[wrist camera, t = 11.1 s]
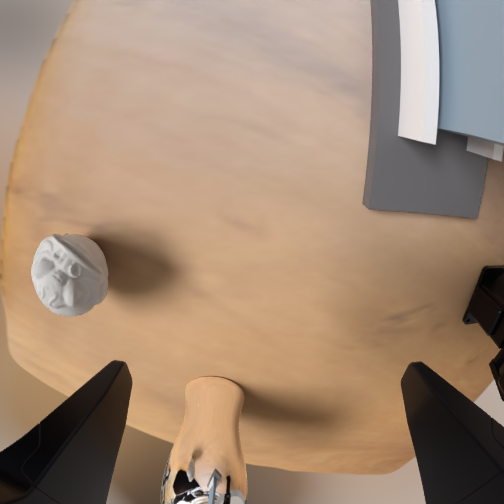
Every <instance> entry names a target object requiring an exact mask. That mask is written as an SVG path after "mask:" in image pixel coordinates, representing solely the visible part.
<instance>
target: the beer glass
mask: <svg viewBox="0 0 504 504" xmlns="http://www.w3.org/2000/svg"><path fill="white" fill-rule="evenodd" d="M185 402H186V408H185V416H184V420H183V424H182V426H181V429H180V431H179V434H178V436H177V439H176V441H175V443H174V446H173V448H172V451H171V453H170V456H169V459H168V462H167V464H166V467H165V472H164V477H163V482H162V489H161V498H160V504H247V473H246V466H245V460H244V454H243V449H242V443H241V437H240V429H239V422H240V415H241V411H242V407H243V403H244V392H243V390H242V389H241V388H240V387H239V386H238V385H237V384H236V383H234V382H232V381H230V380H228V379H225V378H221V377H213V376H207V377H200V378H197V379H194V380H192V381H191V382H189V383H188V384H187V386H186V388H185Z"/></svg>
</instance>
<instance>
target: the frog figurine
mask: <svg viewBox="0 0 504 504" xmlns="http://www.w3.org/2000/svg"><path fill="white" fill-rule="evenodd" d="M31 275H32V280H33V284H34V286H35V289H36V292H37V294H38V296H39V298H40V299H41V301H42V303H43V304H44V305H45V306H46V307H48V309H50V310H51V311H52V312H54V313H56V314H59V315H63V316H68V317H70V316H78V315H82V314H84V313H86V312H88V311H90V310H91V309H92V308H93V307H94V305H96V304H99V303H101V302H102V301H103V300H104V298H105V296H106V294H107V290H108V280H107V279H108V275H109V273H108V267H107V264H106V259H105V256H104V254H103V252H102V250H101V249H100V247H99V246H98V245H97V244H96V243H95V242H94V241H92V240H91V239H89V238H87V237H85V236H82V235H68V234H65V235H57V234H53V235H51V236H48V237H47V238H45V239H44V240H43V241H42V242H41V244H40V245H39V247H38V249H37V250H36V253H35V256H34V261H33V265H32V269H31Z"/></svg>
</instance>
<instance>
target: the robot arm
mask: <svg viewBox="0 0 504 504" xmlns="http://www.w3.org/2000/svg"><path fill="white" fill-rule="evenodd" d="M463 322H464V324H473V323H479V325H480V326H481V327H482V329H483V330H484V331H485V332H486V334H487V335H488V336H490V337H491V338H492V340H493V341H494V342H495V344H496V345H497V346H498V348H499V349H500V348H502V349H501V350H500V351H499V353H498V354H497V355H496V357H495V358H494V359H492V361H491V362H490V363H489V366H490V368H491V371H492V374H493V377H494V379H495V382H496V385H497V387H498V390H499V393H500V396H501V399H502V400H503V401H504V266H485V267H484V268H483V269H482V272H481V275H480V277H479V280H478V283H477V286H476V288H475V291H474V294H473V296H472V299H471V301H470V303H469V306H468V308H467V311H466V313H465V315H464V318H463ZM401 388H402V394H403V399H404V405H405V411H406V417H407V422H408V427H409V430H410V434H411V438H412V442H413V446H414V450H415V454H416V458H417V462H418V467H419V471H420V476H421V481H422V485H423V490H424V496H425V501H426V504H504V427H503V426H502V425H501V424H499V423H498V422H497V421H496V420H494V419H493V418H491V417H490V416H489V415H488V414H487V413H486V412H484V411H483V410H482V409H481V408H479V407H478V406H477V405H476V404H474V403H473V402H472V401H471V400H469V399H468V398H467V397H466V396H464V395H463V394H462V393H461V392H459V391H458V390H457V389H456V388H454V387H453V386H452V385H451V384H449V383H448V382H447V381H446V380H444V379H443V378H442V377H441V376H439V375H438V374H437V373H436V372H434V371H433V370H432V369H430V368H429V367H428V366H427V365H425V364H424V363H423V362H420V361H419V362H412V363H410V364H409V365H408V367H407V369H406V371H405V373H404V375H403V377H402V379H401ZM131 389H132V377H131V374H130V372H129V369H128V366H127V364H126V362H124V361H118V360H113V361H111V362H110V363H109V364H108V365H107V366H105V367H104V368H103V369H102V370H101V371H100V372H98V373H97V374H96V375H95V376H94V377H92V378H91V379H90V380H89V381H88V382H87V383H85V384H84V385H83V386H82V387H81V388H79V389H78V390H77V391H76V392H75V393H74V394H72V395H71V396H70V397H69V398H68V399H67V400H65V401H64V402H63V403H62V404H61V405H60V406H58V407H57V408H56V409H55V410H54V411H53V412H51V413H50V414H49V415H48V416H47V417H46V418H44V419H43V420H42V421H41V422H40V424H37V425H36V426H35V427H34V428H32V429H31V430H30V431H29V432H28V433H26V434H25V435H24V436H23V437H21V438H20V439H19V440H17V441H16V442H14V443H13V444H12V445H10V446H9V447H7V448H6V449H4V450H3V451H1V452H0V504H106V501H107V496H108V492H109V487H110V483H111V479H112V474H113V471H114V467H115V463H116V459H117V455H118V451H119V447H120V444H121V440H122V436H123V433H124V429H125V425H126V419H127V413H128V406H129V400H130V395H131Z"/></svg>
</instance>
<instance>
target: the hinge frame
mask: <svg viewBox="0 0 504 504" xmlns="http://www.w3.org/2000/svg"><path fill="white" fill-rule="evenodd" d="M371 15H372V45H373V74H372V106H371V124H370V138H369V150H368V161H367V171H366V180H365V188H364V197H363V204H364V205H365V206H366V207H367V208H368V209H374V210H389V211H403V212H415V213H427V214H438V215H448V216H458V217H468V218H477V217H478V213H479V208H480V204H481V199H482V194H483V188H484V183H485V177H486V171H487V164H488V158H491V159H494V160H497V161H500V162H502V157H503V148H504V146H501V145H498V144H494V143H491V142H487V141H483V140H480V139H476V138H472V137H468V136H463V135H460V134H456V133H452V132H448V131H444V130H441V129H437V124H438V108H439V42H438V27H437V16H436V6H435V0H371Z"/></svg>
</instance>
